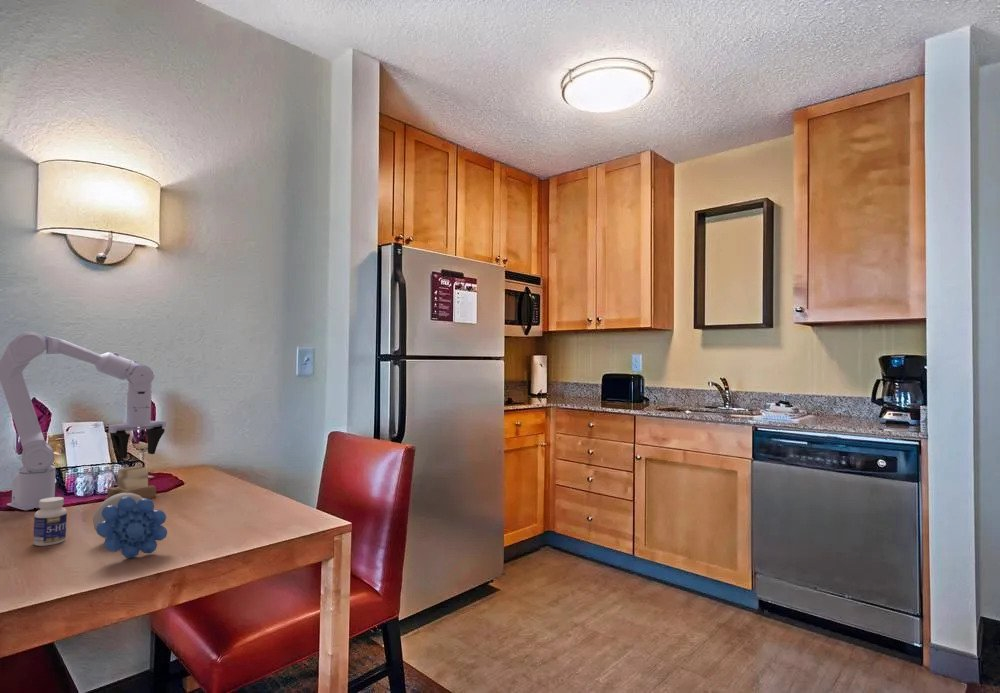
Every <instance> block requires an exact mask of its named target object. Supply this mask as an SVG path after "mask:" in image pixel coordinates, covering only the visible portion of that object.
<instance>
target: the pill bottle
mask: <svg viewBox="0 0 1000 693" xmlns="http://www.w3.org/2000/svg"><path fill="white" fill-rule="evenodd" d="M64 503H65V499H64V497H62V496H55V497H51V498H45V499H41V500H40V501H39V508H38V510H37V511H36V512H35V513H34V516H33V517H34V518H33V519H34V520H33V536H32V538H33V539H32V543H33V545H34V546H37V547H47V546H48V547H49V546H53V545H57V544H61V543H63V542H65V541H66V538H67V537H66V536H67V520H68V518H67V516H68V510H67V509H66V508H65V507H63V506H64Z"/></svg>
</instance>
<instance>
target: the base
mask: <svg viewBox="0 0 1000 693" xmlns="http://www.w3.org/2000/svg"><path fill="white" fill-rule="evenodd" d="M120 493H133V494H137V495H139V496H141V497H142V498H144V499H150V500H152V499H155V498H156V497H157V486H155V485H152V484H148V487H143V488H138V489H133V490H125V489H120V488H118V486H115V487H109V488H107V494H106V495H107V498H106V499H108V498H109V497H111V496H113V495H116V494H120Z"/></svg>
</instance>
